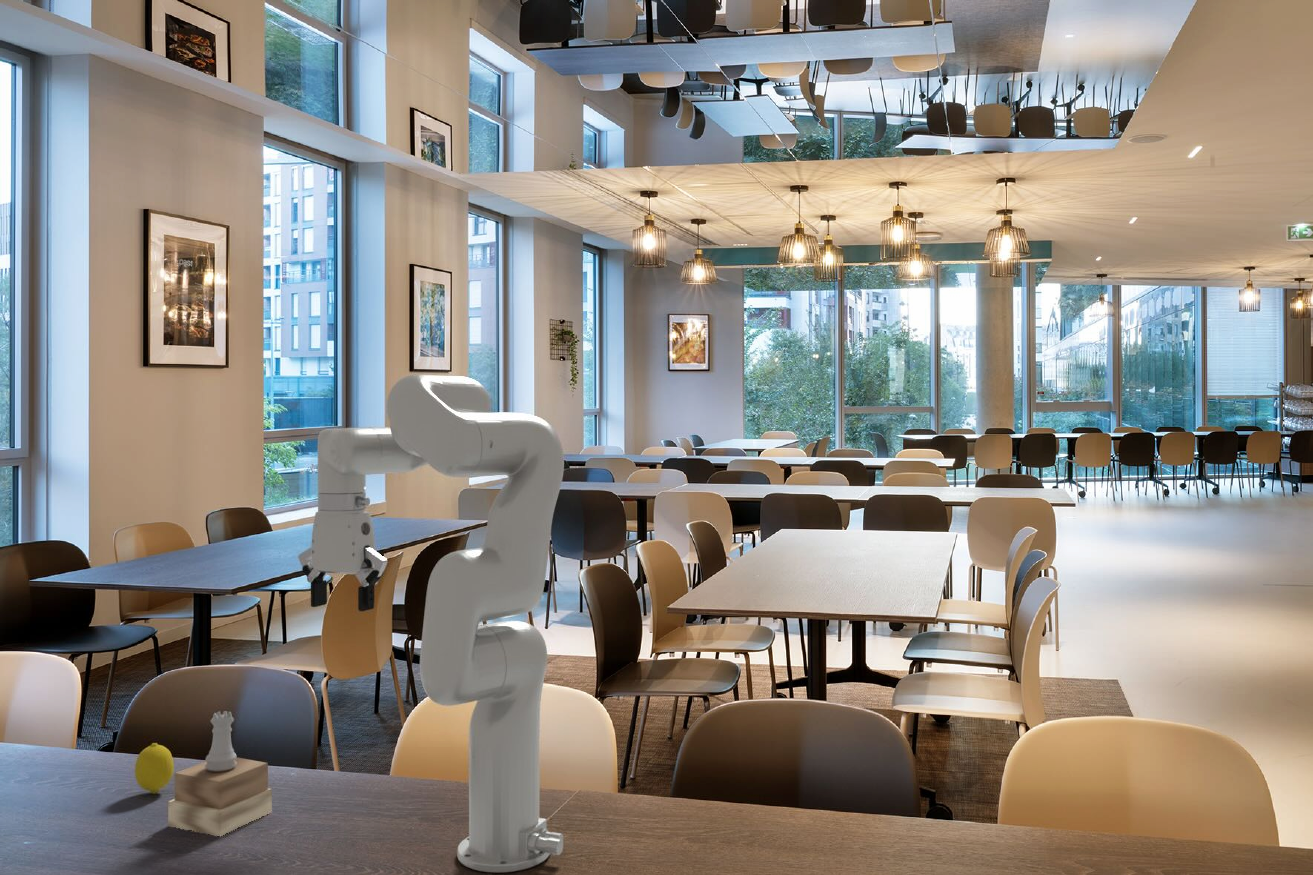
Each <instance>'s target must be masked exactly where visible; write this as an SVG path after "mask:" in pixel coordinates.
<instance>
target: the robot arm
mask: <svg viewBox="0 0 1313 875" xmlns="http://www.w3.org/2000/svg"><path fill="white" fill-rule="evenodd" d="M386 399H387V400H386V414H387V415H386V416H387V420H388V421H389V426H367V427H364V426H363V427H362V426H361V427H359V426H358V427H347V428H346V427H344V428H326V429H323V430H321V431H320V432H319V434H318V436H317V511H316V512H315V514H314V520H313V524H312V532H311V543H310V544H311V545H310V546H311V547H310V548H308V549H305V550H304V551H303V552H301V553H299V554H298V556H297V558H298V561H299V563H300V565H301V570H302V572H303V574H304V575H305V576H306V580H307V582H308V583H310V606H311V608H316V607H317V608H318V607H322V606H325V605H327V603H328V583H327V579H326V580H325V578H326V576H327V575H328V573H329V574H339V575H340V574H342V575H355V577H356V578H357V580H358V582H359V584H360V585H361V586H358V588H357V594H358V595H357V597H358V598H357V599H358V600H357V601H358V602H357V603H358V605H357V607H358V608H357V609H358V612H366V611H369V610H373V609H374V608H375V586H376V585H377V584H378V582H379V580H380V579H381V578H382V577H383V575H384V571H385V570H386V567H387V564H388V559H387V558H386V557H384V556H382V555H381V554H380V553H379V552H377V551H376V540H375V531H374V525H373V519H372V514H371V512H370V511H367V508H366V507H367V506H370V504H371V499H370V498H369V497H367V496H366V495H367V494H366V493H367V492H366V490H367V488H366V481H367V480H366V479H367V477H366V475H369V476H370V475H384V474H386V475H387V474H403V473H404V474H405V473H409V472H412V471H415V470H417V469H420V468H422V467H425V466H427V465H429V466H430V467H431V468H432V469H434V470H435V471H436V472H438V473H440V474H441V475H444V476H446V477H452V478H472V477H493V476H507V477H508V480H507V482H506V483H505V484H504V485H503V487H502V488H501V489H500V490H499V492H498V493H497V495H496V496H495V499H494V500H493V502H492V505H491V507H490V509H489V512H488V514H487V515H488V516H487V526H486V527H487V528H486V534H485V538H484V542H483V545H481V546H480V547H477V548H469V549H460V550H456V551H452V552H449V553H448V554H446V555H444V556H443V557H441V558H440V559H439V560H438V561H437V563H436V564H435V566H434V567H433V569H432V571H431V573H430V575H429V579H428V581H427V582H428V584H427V588H426V596H425V604H424V605H425V606H424V614H423V615H424V616H423V625H422V626H423V627H422V634H421V644H420V656H419V673H420V681H421V684H422V688H423V690H424V692H425V694H426V695H427V697H428V698H429V699H430V700H431V701H432V702H434V703H435V704H436V705H437V704H438V705H439V706H440V705H441V706H446V707H450V706H453V707H454V706H458V705H462V704H463V705H464V704H468V703H473V702H476V704H475V705H474V708H473V711H472V714H471V717H470V721H469V726H468V727H469V729H468V836H467V837H466V838H464V839H463V840H462V841H460V843H459V844H458V846H457V848H456V849H457V859H458V861H459V862H460V863H461V864H462V865H463V866H465V867H466V868H469V869H470V870H471V869H472V870H474V871H479V872H485V873H512V872H517V871H518V872H519V871H523V870H526V869H530V868H532V867H533V868H534V867H535V866H537V865H539V864H541V863H543V862H545V860H547V859H548V858H549V856H550V855H555V856H559V855H561V854H562V852H563V850H564V834H563V833H559V832H554V831H553V832H552V831H549V830H548V829H547V826H548V824H547V818H544V817H543V818H542V817H540V732H541V730H540V727H541V726H540V722H541V721H540V720H541V701H542V693H543V687H544V682H545V676H546V671H547V665H548V664H547V663H548V650H547V649H548V648H547V645H546V641H545V639H544V637H543V635H542V633H541V632H540V631H539V629H537V627H535V626H533V625H532V624H530V623H528V622H525V621H522V620H521V621H520V620H502V621H497V622H492V623H485V624H480V623H483V622H487V621H488V622H489V621H494V620H500V619H505V618H510V617H512V618H513V617H516V616H517V617H518V616H520V615H523V614H528V613H530V612H532V611H533V610H535V609H536V608H537V607H538V606H539V605H540V603H541V600H542V598H543V593H544V588H545V584H546V575H547V567H548V559H549V552H550V544H551V534H552V524H553V518H554V514H555V508H556V504H557V500H558V497H559V494H560V490H561V486H562V483H563V478H564V470H565V468H564V467H565V459H564V458H565V457H564V449H563V445H562V442H561V439H560V437H559V435H558V434H557V432H556V429H555V428H554V427H553V426H552V425H551V424H550V423H548V422H547V421H546V420H545V419H543V418H541V417H538V416H535V415H532V414H527V413H521V412H507V411H505V412H504V411H502V412H501V411H499V412H498V411H497V412H492V399H491V395H490V394H489V392H488V390H487V389H486V387H484V386H483V385H482V384H481V383H480V382H479V381H477V380H476V379H473V378H470V377H467V376H463V375H443V374H441V375H438V374H410V375H407V376H404V377H403V378H400V379H399V380H397V381H396V382H395V384H394V385H393V386H392V388H391V389H390V391H389V393H388V396H387V398H386Z"/></svg>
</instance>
